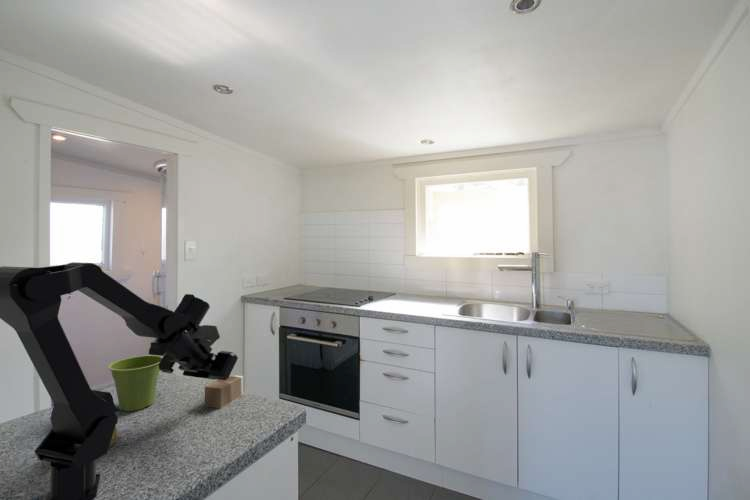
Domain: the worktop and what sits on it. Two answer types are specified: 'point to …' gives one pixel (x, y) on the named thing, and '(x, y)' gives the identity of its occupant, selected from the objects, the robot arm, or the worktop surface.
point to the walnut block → (223, 391)
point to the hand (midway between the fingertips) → (214, 377)
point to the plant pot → (136, 381)
